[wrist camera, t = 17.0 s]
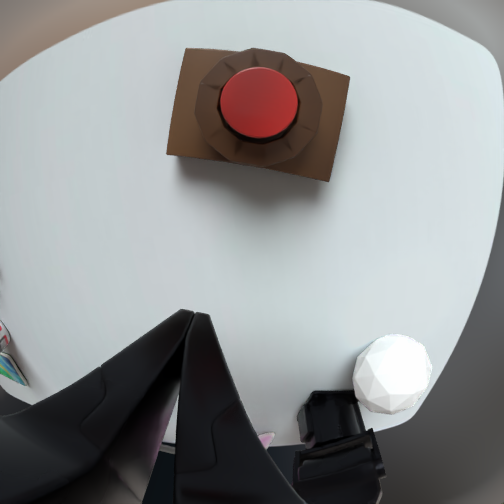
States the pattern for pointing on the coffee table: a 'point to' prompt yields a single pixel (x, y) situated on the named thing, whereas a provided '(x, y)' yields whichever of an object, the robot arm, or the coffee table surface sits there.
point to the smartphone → (11, 369)
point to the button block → (247, 148)
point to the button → (259, 102)
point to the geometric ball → (391, 374)
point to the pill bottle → (3, 337)
